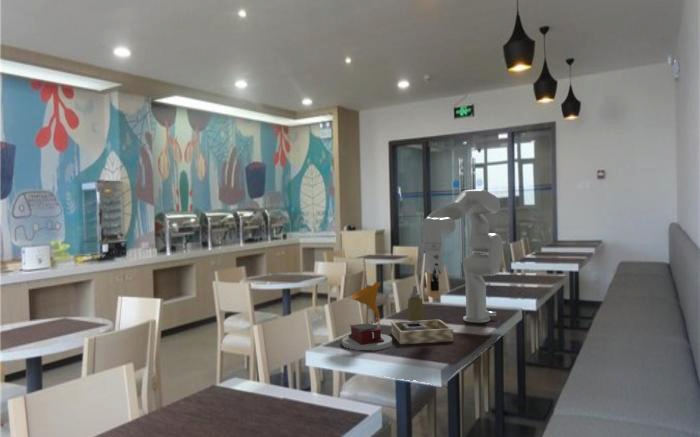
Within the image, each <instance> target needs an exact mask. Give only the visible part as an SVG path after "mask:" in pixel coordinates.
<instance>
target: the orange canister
mask: <svg viewBox="0 0 700 437" xmlns="http://www.w3.org/2000/svg"><path fill="white" fill-rule="evenodd" d="M433 274H435V273H433ZM433 277H434V275H433ZM431 281H432V278H431V274H430V273H428V272H426V286H427V287H426V292H427V293H426V295H427V296H428V297H430V298H439V297H440V289H439V290H438V291H431Z"/></svg>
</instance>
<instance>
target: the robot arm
mask: <svg viewBox="0 0 700 437" xmlns="http://www.w3.org/2000/svg"><path fill="white" fill-rule="evenodd" d="M500 209H501V202H500V199H499V198H498V196H495V194H492V192H490V191H487V190H485V189H481V188H480V189H466V190H462V191H461V192H459V194H458V195H457V196H456V197H455V198H454V199H453V200H451V202H450V203H448V204H446V205H443V206H441V207H438V208H437V209H435V210H433V211H432V212H431V213H430V214H428V215H427V216H426V218H424V219H423V223H422V232H423V233H422V234H423V235H422V236H423V240H422V241H423V251H425V252H424V272H426V273H427V272H428V273H430V274H431V278H432V281H431V291H438V290H439V291H440V275H442V274H443V261H442V252H441V251H442V235H445V236H446V235H451V234H454V232H455V230H456V227H457V226H456V220H459V219H462V218H463V217H464V216H466V214H468V215H467V216H468V217H469V219H470V224H471V227H470V234H469V242H468V248H469V250H470V252H473V253H476V254H469V255H468V254H467V255H466V256H465V257H464V258H463V260H462V269H463V274H464V280H465V282H464V283H465V311H466V312H465V316H463V318H462V320H463V321H465V322H467V323H477V324H480V323H481V324H482V323H487V322H490V321H491V316H492V317H495V316H497V311H489V310H487V286H486V285H487V284H486V280H485V279H484V277H483V276H488V277H489V276H490V277H491V276H492V277H493V276H497V275H498V273H499V272H500V269H501V263H502V255H503V247H504V246H503V239H502V237H501V236H500V234H498V233H490V231H489V230H490V223H489V220H488V219H487V218H486V216H485V215H493V214H497V213H498V212H499V211H500ZM477 253H478V254H477ZM480 253H481V254H480ZM486 254H488V255H486ZM433 273H435V274H433ZM433 275H434V277H433Z"/></svg>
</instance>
